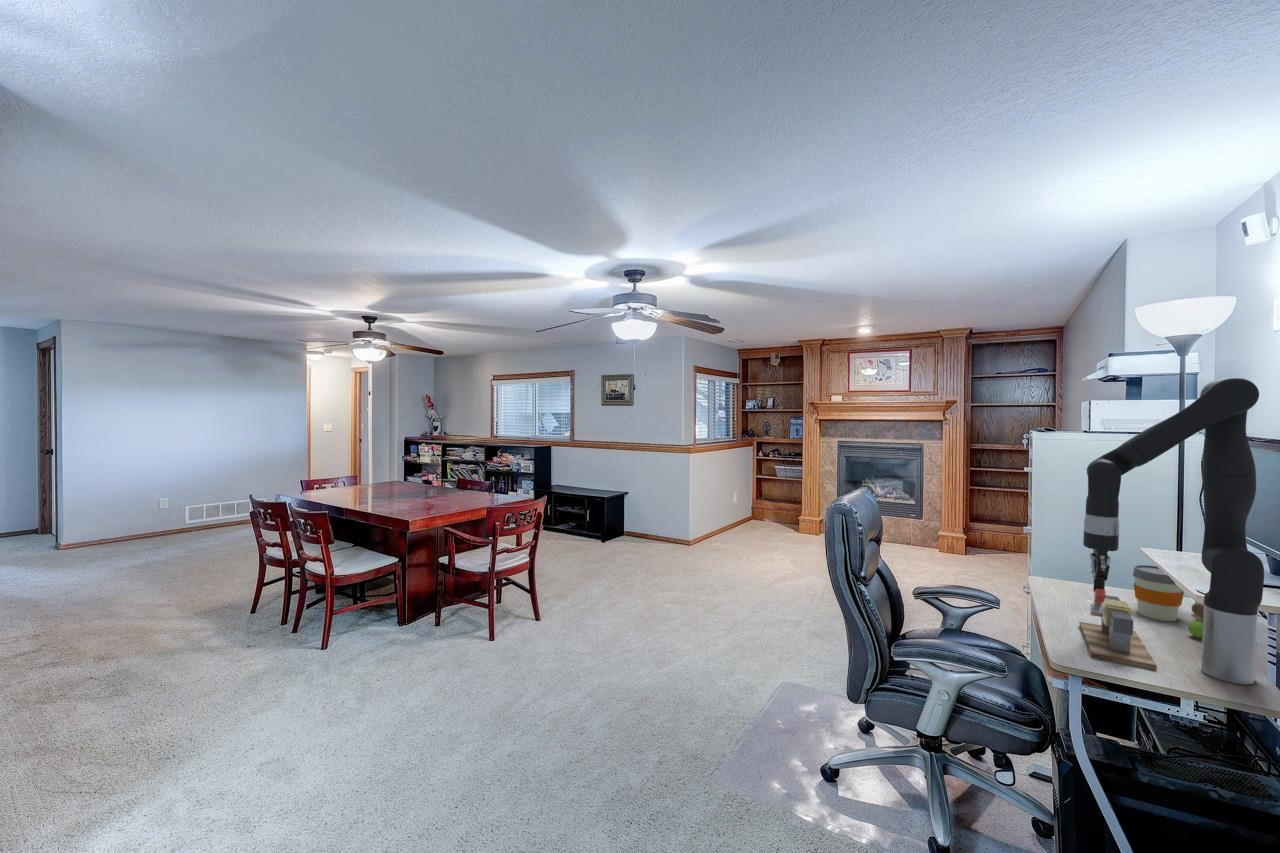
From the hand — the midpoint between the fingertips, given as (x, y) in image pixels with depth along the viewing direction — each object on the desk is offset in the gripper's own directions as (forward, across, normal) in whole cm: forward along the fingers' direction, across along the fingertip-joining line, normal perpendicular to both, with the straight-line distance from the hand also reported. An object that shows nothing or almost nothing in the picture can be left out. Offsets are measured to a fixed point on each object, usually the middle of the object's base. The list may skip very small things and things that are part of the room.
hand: (1098, 593), depth 154 cm
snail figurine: (+16, +27, -28) cm, 42 cm away
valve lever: (+7, +6, 0) cm, 10 cm away
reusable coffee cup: (+16, +44, -21) cm, 52 cm away
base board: (+16, +6, -5) cm, 18 cm away
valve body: (+15, +6, -5) cm, 16 cm away
